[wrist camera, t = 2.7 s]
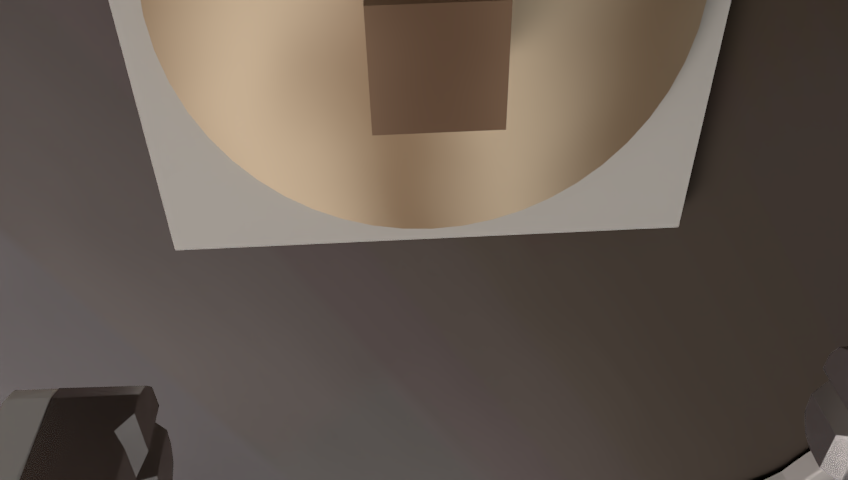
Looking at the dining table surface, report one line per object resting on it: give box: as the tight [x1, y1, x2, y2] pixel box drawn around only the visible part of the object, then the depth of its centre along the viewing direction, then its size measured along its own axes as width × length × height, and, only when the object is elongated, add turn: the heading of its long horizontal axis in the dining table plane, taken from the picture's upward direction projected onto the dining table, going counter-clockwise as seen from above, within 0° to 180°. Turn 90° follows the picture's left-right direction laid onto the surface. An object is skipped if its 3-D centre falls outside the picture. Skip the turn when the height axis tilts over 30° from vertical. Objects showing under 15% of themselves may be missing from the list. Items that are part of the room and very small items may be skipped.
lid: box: [141, 0, 707, 229], centre depth 19 cm, size 14×14×4 cm
